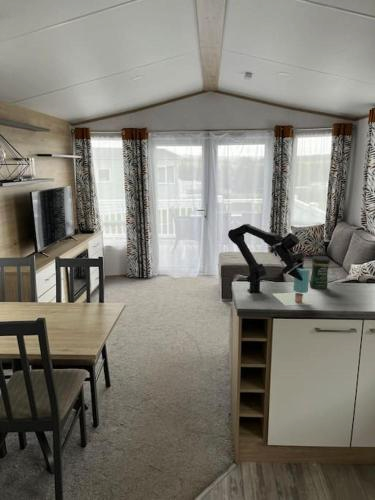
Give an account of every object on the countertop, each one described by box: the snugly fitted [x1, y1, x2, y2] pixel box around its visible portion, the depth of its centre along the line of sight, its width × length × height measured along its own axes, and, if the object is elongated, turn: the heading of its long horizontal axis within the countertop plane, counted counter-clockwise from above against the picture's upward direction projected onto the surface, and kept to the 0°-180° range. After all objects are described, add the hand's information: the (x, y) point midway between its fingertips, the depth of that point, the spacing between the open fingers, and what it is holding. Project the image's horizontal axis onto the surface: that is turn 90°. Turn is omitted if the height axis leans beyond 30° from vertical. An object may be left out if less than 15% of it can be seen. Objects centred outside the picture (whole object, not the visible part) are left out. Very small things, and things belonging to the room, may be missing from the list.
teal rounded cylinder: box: [293, 267, 310, 294], centre depth 192 cm, size 7×7×11 cm
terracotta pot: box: [294, 292, 304, 303], centre depth 194 cm, size 4×4×4 cm
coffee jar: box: [309, 255, 330, 290], centre depth 219 cm, size 10×8×19 cm
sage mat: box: [272, 292, 312, 306], centre depth 199 cm, size 19×14×1 cm
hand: (304, 278), depth 191 cm, fingers closed on teal rounded cylinder, 7 cm apart
